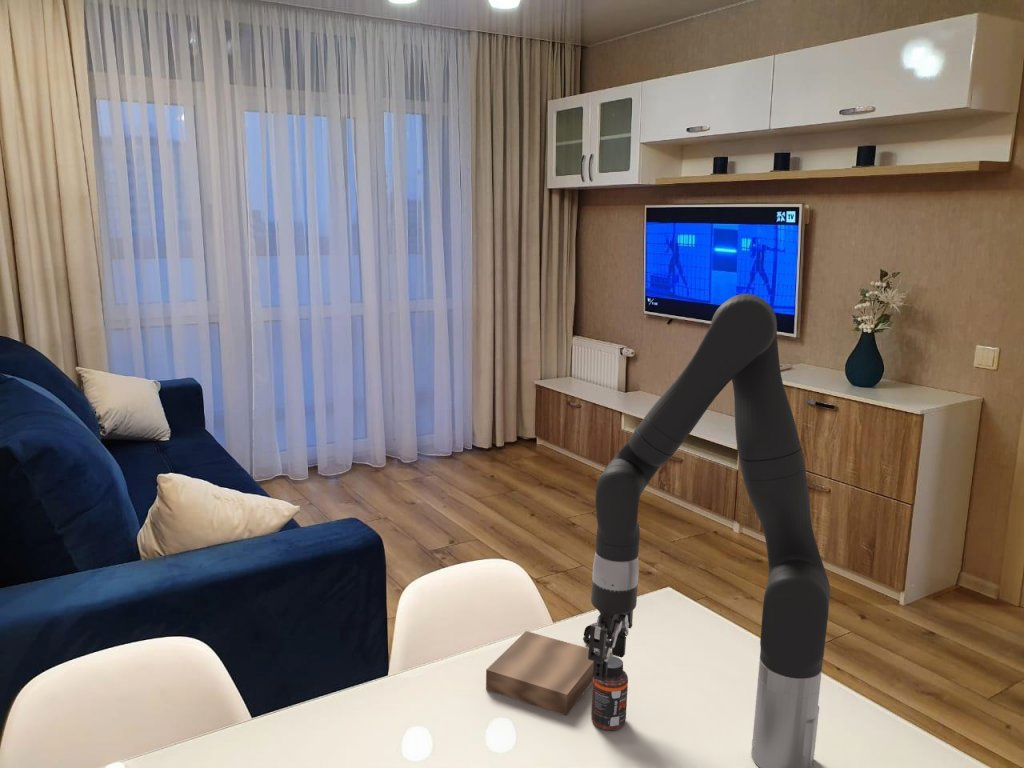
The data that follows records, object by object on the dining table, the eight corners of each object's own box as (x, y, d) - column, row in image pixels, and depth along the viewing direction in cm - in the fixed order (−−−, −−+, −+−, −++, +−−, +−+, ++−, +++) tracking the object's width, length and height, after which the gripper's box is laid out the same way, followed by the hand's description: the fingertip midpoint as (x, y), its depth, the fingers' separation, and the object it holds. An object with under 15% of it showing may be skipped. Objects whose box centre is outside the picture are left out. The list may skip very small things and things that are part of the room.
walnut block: (600, 671, 156) (601, 651, 155) (566, 715, 142) (567, 694, 141) (525, 649, 163) (526, 630, 162) (485, 689, 149) (486, 669, 149)
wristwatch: (590, 655, 164) (604, 645, 161) (578, 632, 166) (592, 621, 163) (600, 652, 166) (614, 641, 163) (588, 628, 168) (602, 618, 166)
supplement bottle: (624, 734, 137) (627, 673, 135) (589, 729, 139) (591, 668, 136) (627, 713, 143) (630, 654, 141) (592, 709, 144) (595, 650, 142)
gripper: (621, 601, 127) (615, 694, 131) (650, 567, 140) (644, 653, 143) (577, 589, 131) (571, 681, 134) (609, 557, 143) (604, 642, 147)
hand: (609, 666), depth 139 cm, fingers open, 8 cm apart
